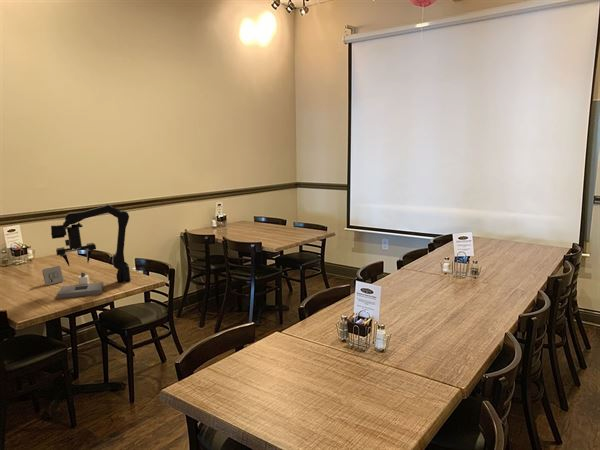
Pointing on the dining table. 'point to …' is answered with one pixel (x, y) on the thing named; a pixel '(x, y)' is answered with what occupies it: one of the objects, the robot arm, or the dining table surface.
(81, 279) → the plug
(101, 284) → the socket plate
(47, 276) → the electrical switch
